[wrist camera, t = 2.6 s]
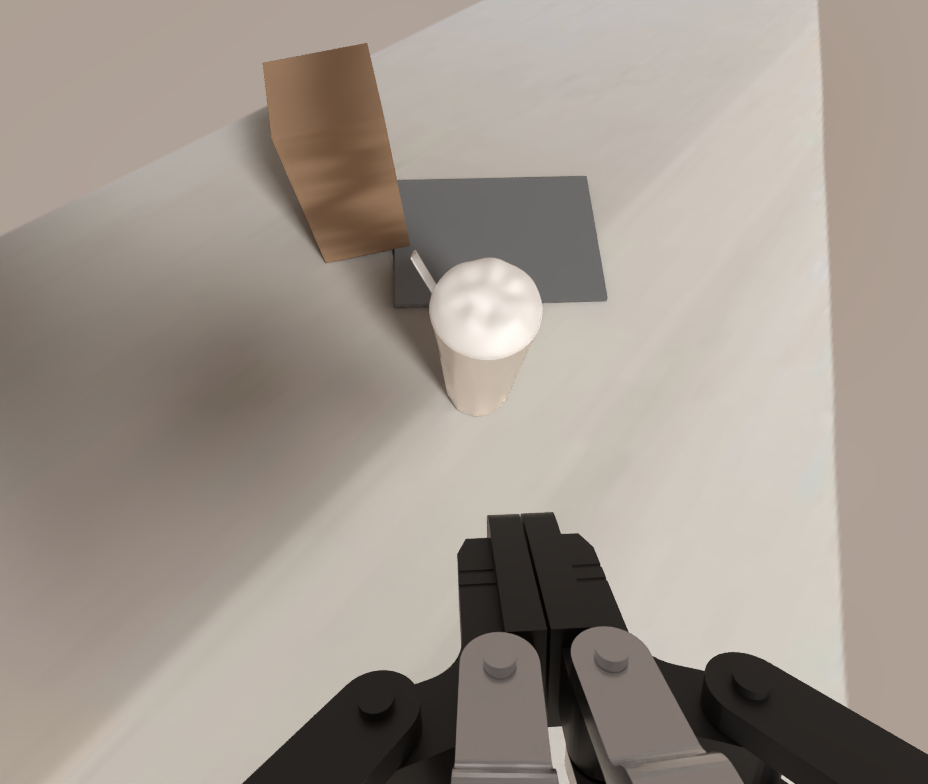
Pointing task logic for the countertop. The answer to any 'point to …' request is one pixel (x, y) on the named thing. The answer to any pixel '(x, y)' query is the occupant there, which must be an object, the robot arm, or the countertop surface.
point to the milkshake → (482, 329)
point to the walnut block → (336, 150)
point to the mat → (502, 234)
